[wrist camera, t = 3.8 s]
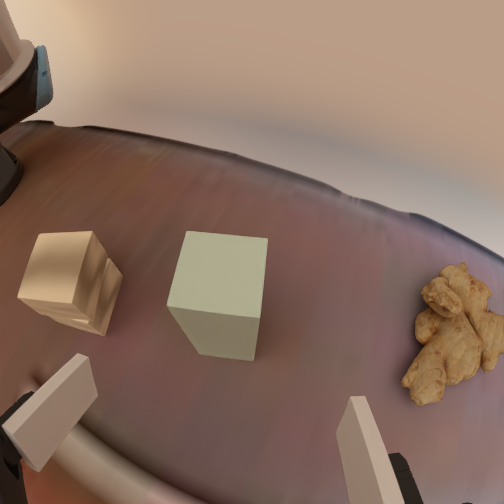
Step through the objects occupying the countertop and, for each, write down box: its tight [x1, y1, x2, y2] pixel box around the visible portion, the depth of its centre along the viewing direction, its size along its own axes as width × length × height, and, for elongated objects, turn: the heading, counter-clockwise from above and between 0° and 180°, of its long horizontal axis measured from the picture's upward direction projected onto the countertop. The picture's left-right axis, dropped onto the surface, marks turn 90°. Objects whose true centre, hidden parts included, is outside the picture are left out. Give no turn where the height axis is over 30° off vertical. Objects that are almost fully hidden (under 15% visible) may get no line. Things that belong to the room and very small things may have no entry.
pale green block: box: [167, 231, 268, 361], centre depth 21 cm, size 5×5×12 cm
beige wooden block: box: [49, 258, 123, 336], centre depth 25 cm, size 7×7×4 cm
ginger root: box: [401, 262, 504, 406], centre depth 23 cm, size 16×16×8 cm
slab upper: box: [18, 231, 108, 321], centre depth 22 cm, size 7×7×4 cm
